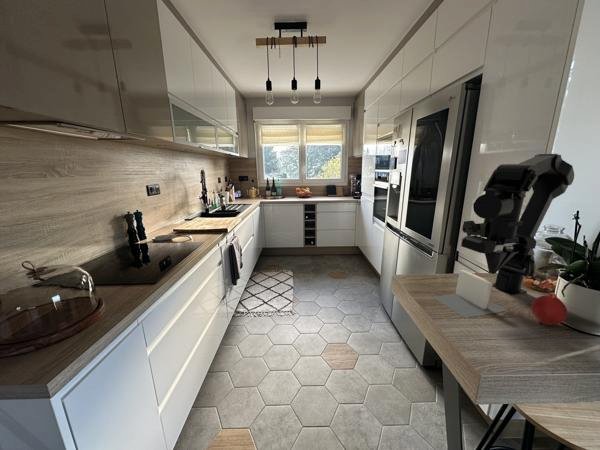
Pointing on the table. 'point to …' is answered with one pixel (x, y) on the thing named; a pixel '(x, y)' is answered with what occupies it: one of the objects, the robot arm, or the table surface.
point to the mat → (467, 306)
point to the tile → (474, 288)
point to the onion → (549, 309)
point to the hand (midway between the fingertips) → (491, 273)
